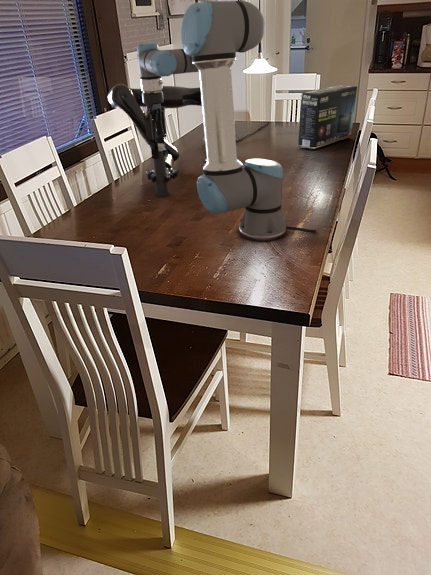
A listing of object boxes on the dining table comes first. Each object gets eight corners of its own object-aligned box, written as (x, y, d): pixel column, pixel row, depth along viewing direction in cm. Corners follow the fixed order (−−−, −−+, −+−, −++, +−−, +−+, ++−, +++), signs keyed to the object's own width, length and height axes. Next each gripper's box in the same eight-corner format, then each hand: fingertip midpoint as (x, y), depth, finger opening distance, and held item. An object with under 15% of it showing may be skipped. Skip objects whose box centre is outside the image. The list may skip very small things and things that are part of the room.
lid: (149, 149, 176) (148, 144, 175) (160, 147, 178) (160, 142, 177) (155, 152, 172) (154, 147, 171) (167, 149, 175) (166, 144, 174)
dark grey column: (166, 196, 182) (162, 152, 173) (155, 196, 183) (150, 152, 174) (169, 192, 186) (165, 149, 177) (158, 192, 187) (153, 149, 178)
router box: (314, 151, 231) (318, 94, 217) (296, 148, 237) (299, 92, 224) (352, 138, 251) (358, 85, 238) (335, 135, 258) (340, 83, 245)
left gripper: (146, 159, 191) (140, 171, 177) (180, 157, 191) (177, 169, 177) (148, 176, 195) (143, 190, 181) (181, 175, 195) (179, 188, 180)
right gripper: (150, 95, 156) (157, 163, 168) (172, 88, 171) (177, 151, 183) (130, 95, 159) (139, 162, 170) (153, 87, 173) (160, 150, 185)
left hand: (160, 180), depth 179 cm, fingers closed on dark grey column, 4 cm apart
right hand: (158, 156), depth 176 cm, fingers closed on lid, 5 cm apart
